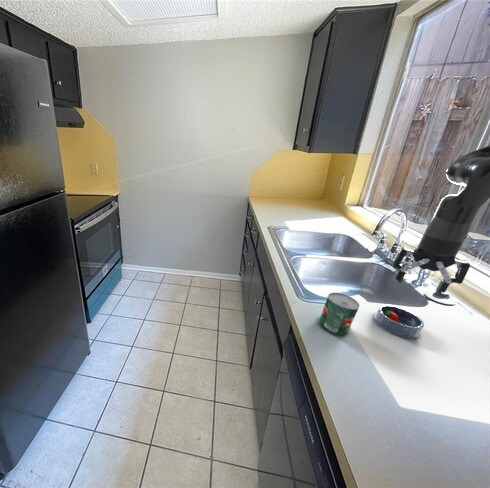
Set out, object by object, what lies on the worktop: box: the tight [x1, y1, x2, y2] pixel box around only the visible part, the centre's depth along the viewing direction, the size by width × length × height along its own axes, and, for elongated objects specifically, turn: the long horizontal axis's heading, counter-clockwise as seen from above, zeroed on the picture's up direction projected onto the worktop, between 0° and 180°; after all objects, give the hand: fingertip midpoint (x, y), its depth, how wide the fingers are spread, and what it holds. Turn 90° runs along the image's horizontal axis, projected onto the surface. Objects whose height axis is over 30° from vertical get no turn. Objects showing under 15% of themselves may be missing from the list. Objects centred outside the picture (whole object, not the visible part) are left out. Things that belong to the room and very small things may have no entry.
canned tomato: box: [318, 292, 360, 337], centre depth 77 cm, size 8×8×11 cm
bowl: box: [373, 304, 425, 339], centre depth 80 cm, size 11×11×5 cm
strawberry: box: [384, 311, 399, 323], centre depth 82 cm, size 4×4×4 cm
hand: (417, 286), depth 75 cm, fingers open, 8 cm apart
